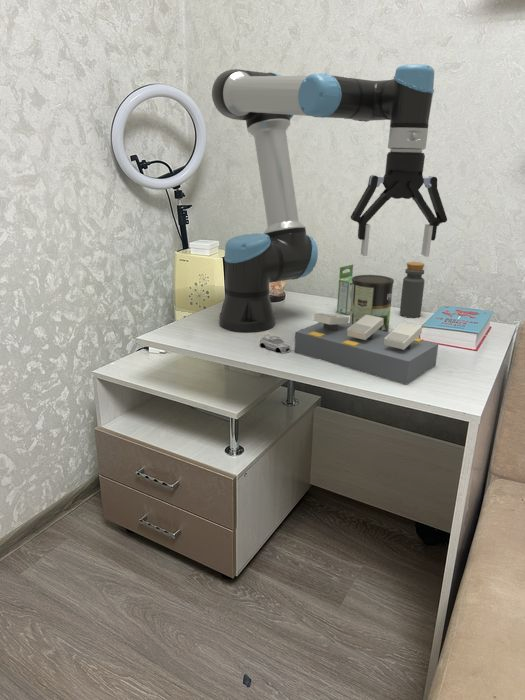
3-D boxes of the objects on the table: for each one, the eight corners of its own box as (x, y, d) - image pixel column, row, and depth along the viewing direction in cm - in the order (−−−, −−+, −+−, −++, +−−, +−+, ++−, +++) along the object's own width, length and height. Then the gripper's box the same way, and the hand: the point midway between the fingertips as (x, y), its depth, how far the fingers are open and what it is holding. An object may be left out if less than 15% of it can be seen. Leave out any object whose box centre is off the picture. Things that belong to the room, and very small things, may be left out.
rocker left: (313, 320, 120) (314, 313, 120) (332, 320, 126) (333, 313, 126) (329, 324, 117) (330, 316, 117) (347, 324, 123) (349, 316, 123)
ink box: (347, 315, 151) (350, 269, 147) (336, 312, 154) (338, 267, 149) (361, 310, 156) (364, 265, 151) (350, 308, 158) (353, 264, 154)
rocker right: (384, 344, 110) (384, 337, 109) (402, 328, 115) (402, 321, 114) (403, 349, 107) (404, 342, 106) (421, 333, 112) (421, 325, 111)
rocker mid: (347, 335, 115) (347, 328, 114) (366, 320, 120) (366, 313, 119) (365, 340, 113) (364, 332, 112) (383, 324, 118) (383, 317, 117)
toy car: (283, 355, 121) (283, 343, 120) (257, 347, 126) (257, 335, 125) (293, 351, 123) (293, 339, 122) (268, 343, 128) (268, 332, 127)
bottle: (395, 314, 152) (400, 263, 147) (407, 311, 156) (412, 260, 151) (412, 319, 148) (418, 266, 143) (424, 315, 152) (430, 263, 147)
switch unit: (294, 352, 122) (295, 325, 120) (328, 337, 132) (330, 312, 130) (406, 384, 105) (409, 354, 103) (435, 365, 115) (439, 337, 113)
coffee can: (388, 327, 141) (393, 275, 136) (389, 339, 131) (394, 284, 126) (349, 324, 143) (352, 273, 138) (347, 336, 133) (351, 282, 128)
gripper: (350, 149, 103) (341, 258, 110) (473, 152, 105) (457, 259, 112) (342, 149, 110) (334, 251, 117) (458, 152, 112) (443, 252, 119)
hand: (394, 255), depth 115 cm, fingers open, 13 cm apart
